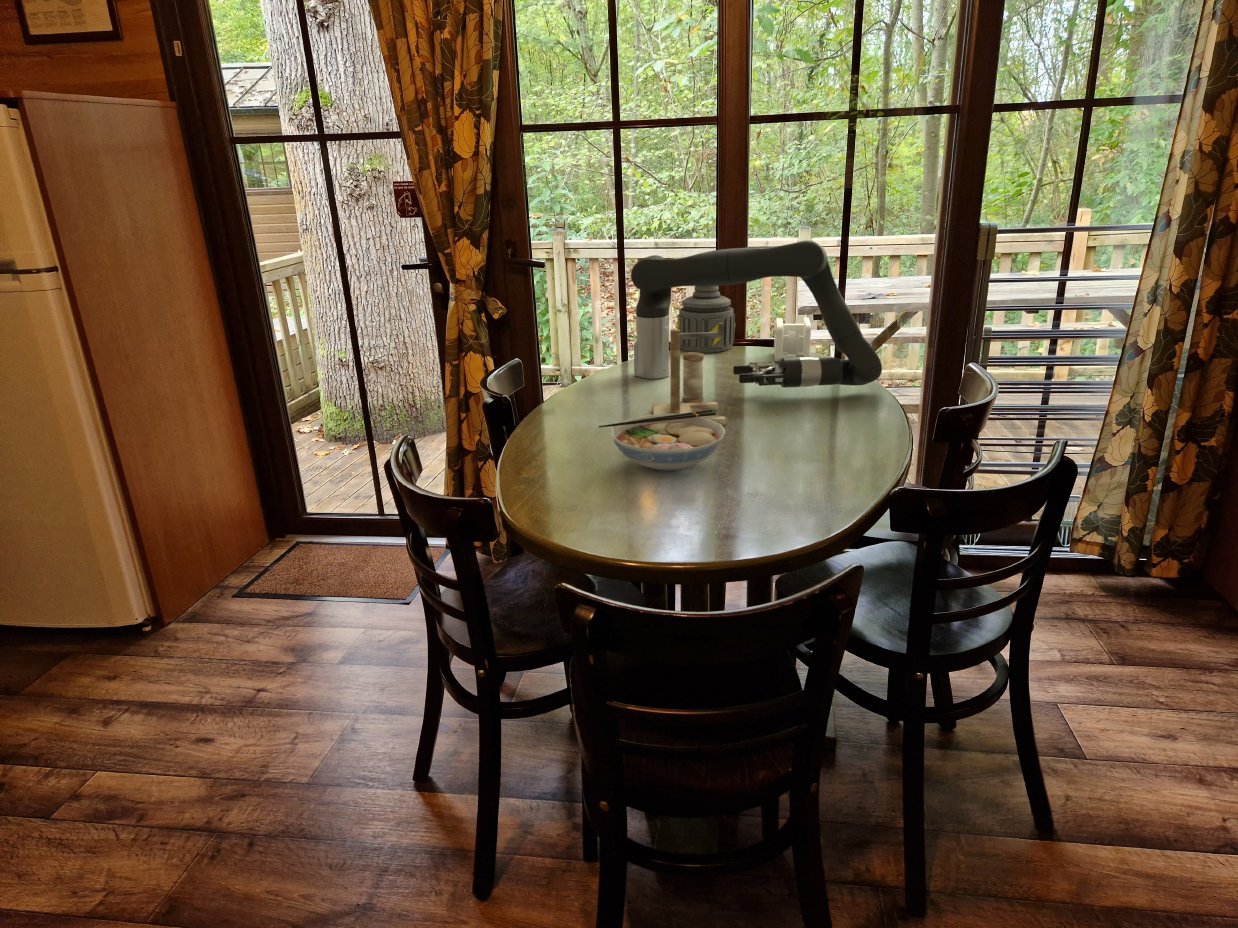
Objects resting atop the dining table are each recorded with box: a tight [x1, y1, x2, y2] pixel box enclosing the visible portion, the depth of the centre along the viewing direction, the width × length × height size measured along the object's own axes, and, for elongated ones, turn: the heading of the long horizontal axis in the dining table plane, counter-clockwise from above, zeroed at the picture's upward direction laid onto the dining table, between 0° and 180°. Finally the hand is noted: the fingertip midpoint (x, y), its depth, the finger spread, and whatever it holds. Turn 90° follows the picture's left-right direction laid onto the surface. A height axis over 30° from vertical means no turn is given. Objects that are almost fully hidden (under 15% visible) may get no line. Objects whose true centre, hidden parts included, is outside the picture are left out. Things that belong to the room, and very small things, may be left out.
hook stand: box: [651, 323, 727, 426], centre depth 183 cm, size 16×14×22 cm
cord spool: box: [682, 351, 705, 403], centre depth 198 cm, size 5×5×12 cm
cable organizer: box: [773, 317, 812, 363], centre depth 239 cm, size 15×11×12 cm
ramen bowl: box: [598, 409, 726, 473], centre depth 156 cm, size 25×23×8 cm
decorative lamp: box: [675, 286, 737, 354], centre depth 253 cm, size 19×19×30 cm
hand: (736, 374), depth 198 cm, fingers open, 8 cm apart
